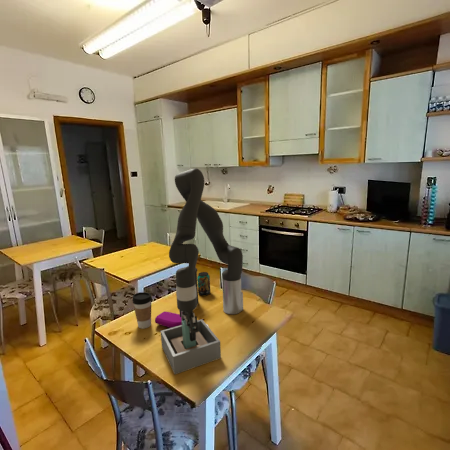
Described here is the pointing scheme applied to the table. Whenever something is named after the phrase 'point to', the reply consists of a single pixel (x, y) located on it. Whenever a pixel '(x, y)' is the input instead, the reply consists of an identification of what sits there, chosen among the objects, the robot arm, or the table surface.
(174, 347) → the plate
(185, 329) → the peg
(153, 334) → the table surface
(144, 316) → the coffee cup
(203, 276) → the beverage can
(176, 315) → the spray bottle
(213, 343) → the crate
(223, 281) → the robot arm
